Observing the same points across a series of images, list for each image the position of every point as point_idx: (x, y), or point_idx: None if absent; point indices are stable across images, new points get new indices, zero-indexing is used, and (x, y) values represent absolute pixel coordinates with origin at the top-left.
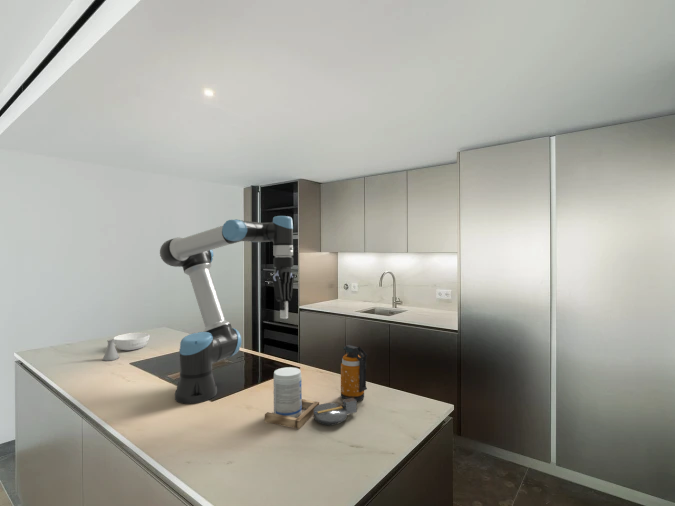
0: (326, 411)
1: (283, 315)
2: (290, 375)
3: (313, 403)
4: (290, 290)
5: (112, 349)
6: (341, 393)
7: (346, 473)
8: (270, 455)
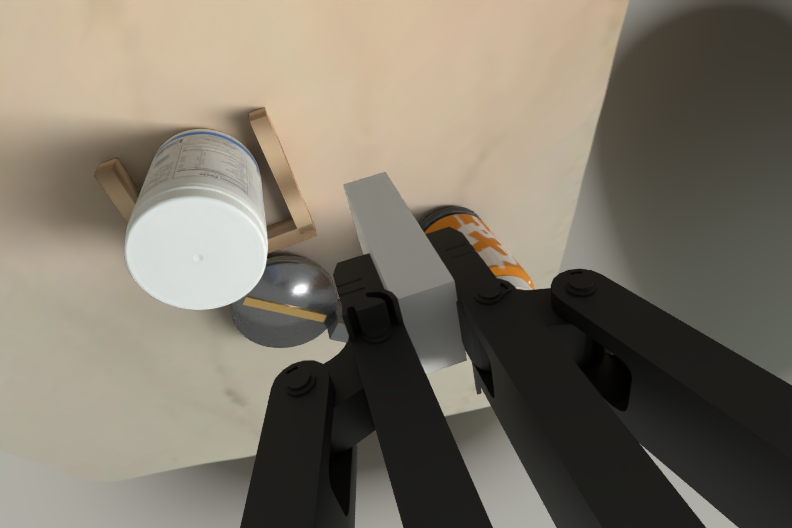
0: (270, 309)
1: (361, 240)
2: (175, 306)
3: (294, 230)
4: (650, 444)
5: None
6: (430, 224)
7: (145, 442)
8: (20, 323)
